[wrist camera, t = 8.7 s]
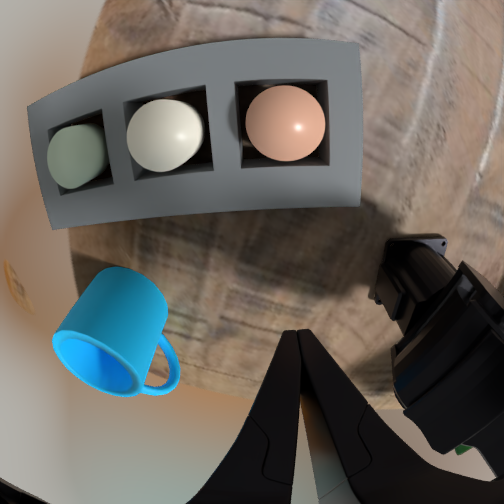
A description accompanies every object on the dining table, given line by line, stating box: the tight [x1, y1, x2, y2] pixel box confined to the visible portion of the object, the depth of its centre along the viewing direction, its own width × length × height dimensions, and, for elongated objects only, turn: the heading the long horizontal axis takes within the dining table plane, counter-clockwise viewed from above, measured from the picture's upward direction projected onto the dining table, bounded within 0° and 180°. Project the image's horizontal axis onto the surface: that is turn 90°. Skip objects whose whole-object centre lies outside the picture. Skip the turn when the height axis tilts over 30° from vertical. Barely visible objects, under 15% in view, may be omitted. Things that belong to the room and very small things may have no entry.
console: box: [27, 38, 363, 230], centre depth 15 cm, size 22×10×3 cm, turn 94°
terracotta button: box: [246, 85, 325, 161], centre depth 13 cm, size 4×4×2 cm
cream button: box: [127, 99, 205, 172], centre depth 14 cm, size 4×4×2 cm
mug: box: [52, 267, 180, 397], centre depth 21 cm, size 12×8×8 cm
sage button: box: [47, 123, 110, 189], centre depth 14 cm, size 4×4×2 cm
